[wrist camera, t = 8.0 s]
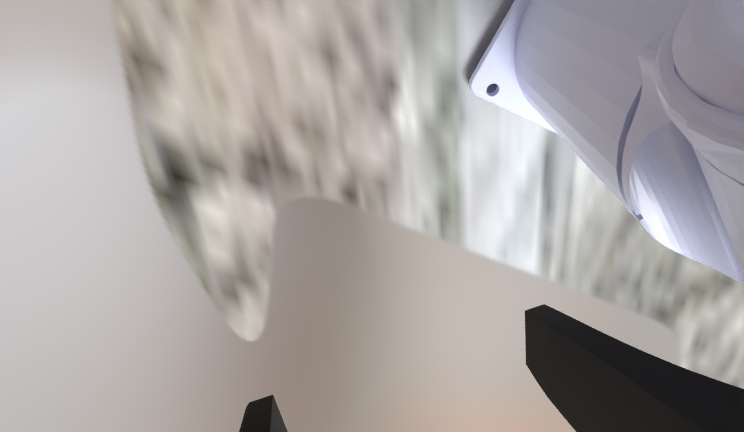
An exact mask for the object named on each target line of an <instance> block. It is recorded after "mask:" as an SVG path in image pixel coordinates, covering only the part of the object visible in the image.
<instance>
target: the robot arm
mask: <svg viewBox="0 0 744 432" xmlns="http://www.w3.org/2000/svg"><path fill="white" fill-rule="evenodd" d="M493 83H494V84H497V88H496V90H495V91H494V92H492V93H487V92H486V90H487V87H488V86H489V85H490V84H493ZM469 88H470V90H471V92H472V93H473V94H474V95H476V96H478V97H480V98H482V99H484V100H486V101H488V102H490V103H493V104H495V105H497V106H499V107H501V108H503V109H505V110H507V111H510V112H512V113H514V114H516V115H518V116H520V117H522V118H524V119H527V120H529V121H531V122H533V123H535V124H537V125H539V126H542V127H544V128H546V129H548V130H550V131H552V132H554V133H556V134H558V135H559V136H560V137H561V138H562V139H563V140H564V141H565V142H566V143H567V144H568V145H569V147H570V148H571V149H572V150H573V151H574V152H575V153H576V154H577V155H578V156H579V157H580V158H581V160H582V161H583V162H584V163H585V164H586V165H587V166H588V167H589V168H590V169H591V170H592V171H593V172H594V174H595V175H596V176H597V177H598V178H599V179H600V180H601V181H602V182H603V183H604V184H605V185H606V186H607V188H608V189H609V190H610V191H611V192H612V193H613V194H614V195H615V196H616V197H617V198H618V199H619V201H620V202H621V203H622V204H623V205H624V206H625V207H626V208H627V209H628V210H629V211H630V212H631V213H632V215H633V216H634V217H635V218H636V219H637V220H638V221H639V223H640V224H641V225H642V226H643V227H644V228H645V230H646V231H647V232H648V233H649V234H650V235H651V236H652V237H654V238H655V239H656V240H657V241H659V242H660V243H661V244H663V245H664V246H666V247H668V248H670V249H671V250H673V251H675V252H677V253H679V254H682V255H684V256H686V257H688V258H691V259H693V260H695V261H698V262H700V263H702V264H704V265H707V266H709V267H711V268H713V269H715V270H717V271H719V272H721V273H723V274H725V275H727V276H728V277H730V278H732V279H734V280H736V281H738V282H741V283H743V284H744V0H514V2H513V4H512V6H511V7H510V9H509V11H508V13H507V14H506V16H505V18H504V20H503V21H502V23H501V25H500V27H499V28H498V30H497V32H496V34H495V35H494V37H493V39H492V41H491V42H490V44H489V46H488V48H487V49H486V51H485V53H484V54H483V56H482V58H481V60H480V61H479V63H478V65H477V67H476V68H475V70H474V72H473V74H472V75H471V77H470V80H469ZM525 333H526V365H527V366H528V368H529V369H530V371H531V373H532V374H533V376H534V377H535V379H536V381H537V382H538V384H539V385H540V387H541V388H542V390H543V391H544V392H545V394H546V395H547V397H548V398H549V399H550V400H551V402H552V403H553V404H554V405H555V406H556V408H557V409H558V410H559V412H560V413H561V414H562V415H563V416H564V418H566V420H567V421H568V422H569V424H570V425H571V426H572V427H573V428H574V429H575V431H576V432H744V389H742V388H739V387H736V386H732V385H729V384H726V383H723V382H721V381H718V380H715V379H712V378H709V377H707V376H704V375H701V374H698V373H695V372H693V371H690V370H687V369H685V368H682V367H680V366H677V365H674V364H672V363H670V362H667V361H665V360H662V359H660V358H658V357H655V356H653V355H650V354H648V353H646V352H643V351H641V350H639V349H637V348H634V347H632V346H630V345H628V344H625V343H623V342H621V341H619V340H617V339H615V338H613V337H610V336H608V335H606V334H604V333H602V332H600V331H598V330H596V329H594V328H592V327H590V326H588V325H586V324H584V323H582V322H580V321H577V320H576V319H574V318H572V317H570V316H567V315H565V314H563V313H561V312H559V311H557V310H555V309H553V308H551V307H549V306H547V305H541V306H538V307H535V308H532V309H529V310H526V311H525ZM239 432H287V429H286V427H285V424H284V422H283V419H282V417H281V414H280V411H279V409H278V406H277V404H276V401H275V399H274V396H273V395H271V396H268V397H265V398H262V399H259V400H256V401H253V402H250V403H249V404H248V405H247V407H246V410H245V413H244V417H243V421H242V424H241V428H240V431H239Z"/></svg>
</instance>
